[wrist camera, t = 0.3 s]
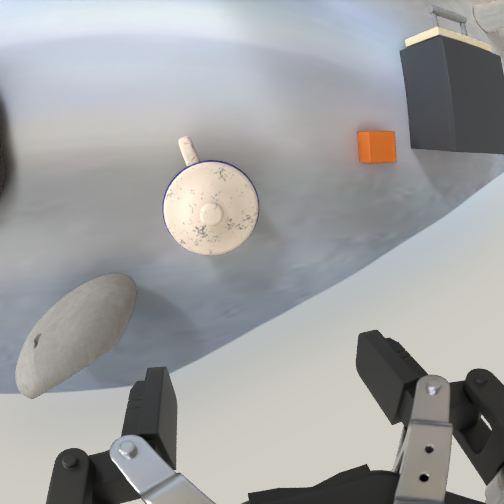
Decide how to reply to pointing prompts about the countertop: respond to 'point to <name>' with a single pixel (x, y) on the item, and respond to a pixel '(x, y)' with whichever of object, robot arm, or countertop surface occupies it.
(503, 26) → the chrome metal cylinder
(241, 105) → the countertop surface
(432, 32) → the drawer
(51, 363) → the planter
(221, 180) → the teacup with lid
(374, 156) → the orange matte cube
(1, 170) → the casserole
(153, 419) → the robot arm
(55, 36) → the countertop surface
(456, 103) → the dark grey cabinet box
